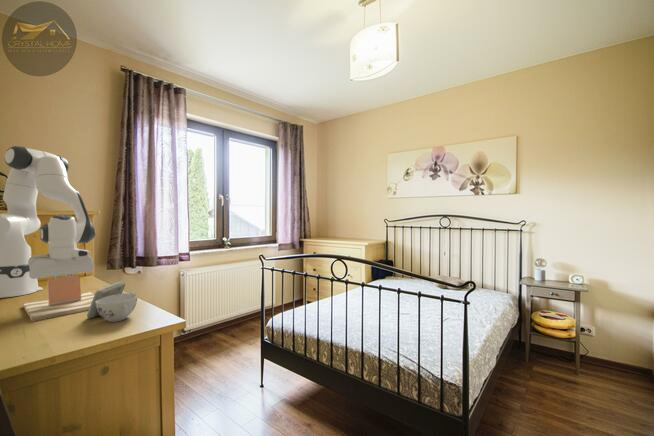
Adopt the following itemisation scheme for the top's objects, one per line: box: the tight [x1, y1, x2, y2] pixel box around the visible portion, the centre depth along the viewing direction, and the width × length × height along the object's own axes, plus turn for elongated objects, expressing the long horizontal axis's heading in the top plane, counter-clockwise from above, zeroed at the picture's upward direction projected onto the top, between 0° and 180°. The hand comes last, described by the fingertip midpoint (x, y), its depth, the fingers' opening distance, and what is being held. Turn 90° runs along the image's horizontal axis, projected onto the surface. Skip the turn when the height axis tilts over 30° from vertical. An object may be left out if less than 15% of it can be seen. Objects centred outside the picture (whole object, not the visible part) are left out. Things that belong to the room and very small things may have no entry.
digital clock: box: [86, 280, 126, 319], centre depth 113 cm, size 16×9×11 cm, turn 175°
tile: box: [46, 274, 82, 306], centre depth 120 cm, size 11×10×1 cm
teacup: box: [95, 292, 139, 323], centre depth 105 cm, size 15×12×8 cm
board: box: [22, 291, 95, 323], centre depth 120 cm, size 26×22×2 cm
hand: (63, 285), depth 122 cm, fingers closed, pressing on tile
